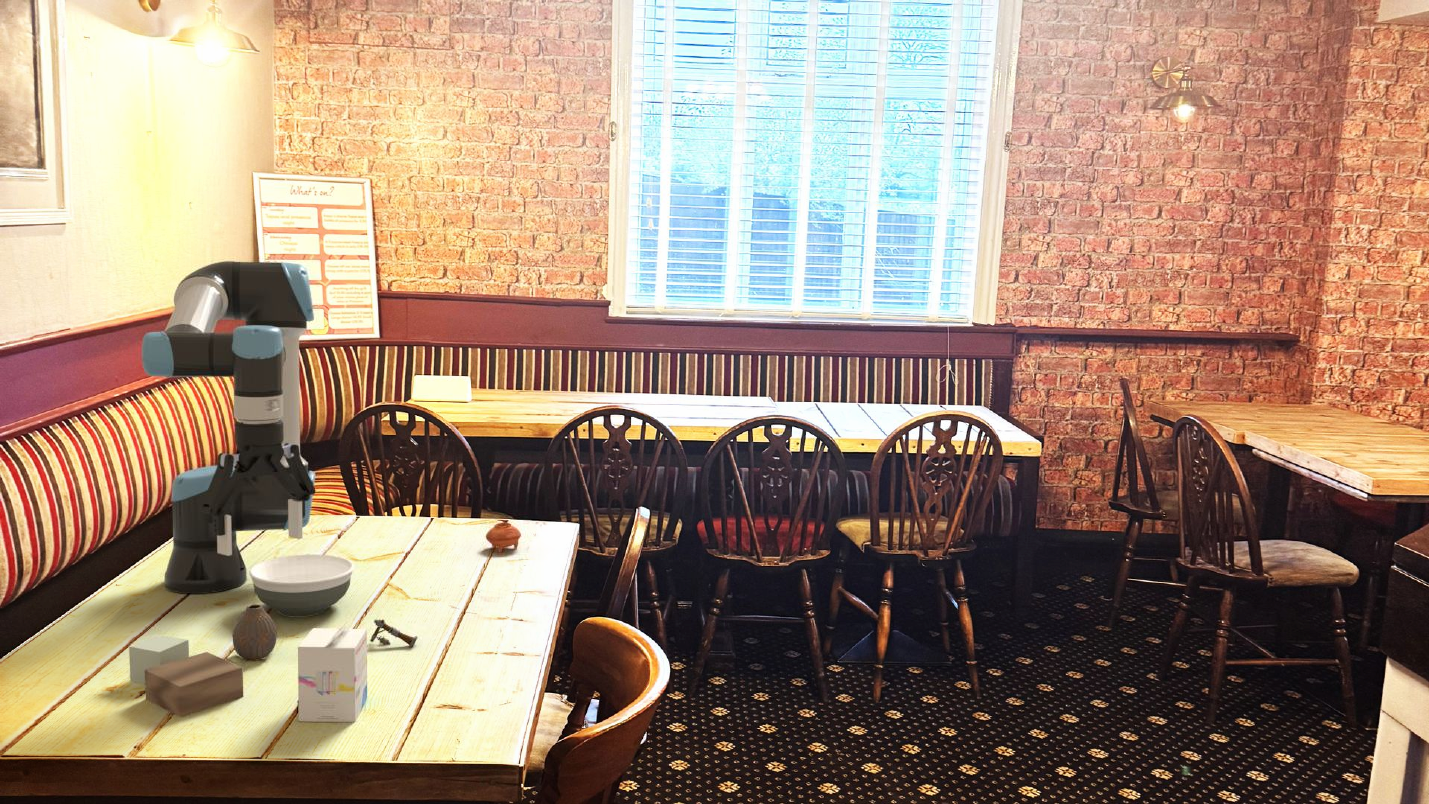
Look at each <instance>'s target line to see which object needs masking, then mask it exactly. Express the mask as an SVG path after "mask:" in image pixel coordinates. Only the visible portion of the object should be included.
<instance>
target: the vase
mask: <svg viewBox="0 0 1429 804" xmlns="http://www.w3.org/2000/svg"><path fill="white" fill-rule="evenodd" d="M277 635H278V633H277V627H276V624H275V622H274V620H273V618H272V617H271V615H269V614H268V613H267V612H266V611H265V609H264V607H263V606H262V605H261V604H255V603H254V604H250V605H247V606H246V608H245V610H244V611H243V614H241V616H240V617H239V618H238V620H237V621H236V622H235V625H234V628H233V630H232V645H233V647H234V650H235V653H236V654H237V655H238V656H239V658H241V659H243V660H244V661H260V660H263V659H265V658H267V657H269V655H270V654H272V652H273V651H274V649H275V646H276V644H277V638H278V636H277Z"/></svg>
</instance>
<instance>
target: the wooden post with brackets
mask: <svg viewBox="0 0 1429 804" xmlns="http://www.w3.org/2000/svg"><path fill="white" fill-rule="evenodd" d="M373 623H374V624H375V626H376V628H375V630H374V632H373V634H372V635H371V638H370V639H369V642H371V643H373V642H375V639H377V641H379V644H383V645H384V646H390V645H391V641H390V639H389V638H385V636H383V637H381V636H378V635H379V634H380V633H383V632H387V633H388V634H390V635H391V636H393V637H395V638H398V639H400V640H402V642H404V643H406V644H407V645H408V648H410V649H411V648H412V647H413V645H415V644H416V641H417V640H418V637H419V636H418V635H415V636H411V635H408V634H405V633H403V632H401V631H400V630H398V629H397V628H396V627H394V626H390V625H388V624H386V621H385V619H383V618H382V619H380V618H379V619H374V620H373ZM381 629H382V630H381ZM412 644H413V645H412Z"/></svg>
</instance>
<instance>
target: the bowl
mask: <svg viewBox="0 0 1429 804" xmlns="http://www.w3.org/2000/svg"><path fill="white" fill-rule="evenodd" d="M354 570H355V565H354V562H352V561H351V560H349V559H347V558H344V557H341V556H335V555H327V554H294V555H286V556H281V557H280V556H279V557H276V558H271V559H267V560H264V561H261V562H259V563H257V564H254V566H252V568H251V569H250V570H249V576H250V578H251V580H252V583H253V589H254V593H255V595H256V596H257V598H258V599H259V601H260V602H261V603H263V605H265V606H267V608H270V609H271V610H274V611H276V612H277V613H279V614H280V615H283V616H285V617H289V618H290V617H293V618H305V617H311V616H316V615H319V614H322V613H324V612H325V611H327V610H328V609H329V608H330V607H332V606H334V605H335V604H337V603H338V602H339V601H340V600H341V599H342V598H344V596H346V594H347V591H348V590H349V588H350V585H351V579H352V574H353V572H354Z"/></svg>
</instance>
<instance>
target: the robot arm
mask: <svg viewBox="0 0 1429 804" xmlns="http://www.w3.org/2000/svg"><path fill="white" fill-rule="evenodd" d="M310 286H311V285H310V280H309V275H308V270H307V268H306V267H305V266H303V265H302V264H299V263H290V262H283V261H281V262H276V261H275V262H271V261H267V262H263V261H262V262H261V261H233V260H232V261H231V260H228V261H227V260H225V261H219V262H215V263H211V264H208V265H204V266H203V267H200V268H198V269H197V270H195V271H193V272H191V273H189V274H188V275H187V276H185V277H184V278H183V279H182V280H181V281H180V282H179V284H178V286H177V287H176V289H175V292H174V295H173V305H174V308H173V311H172V313H171V316H170V318H169V321H168V323H167V325H166V327H165V330H163V331H162V330H159V331H152V332H151V331H150V332H147V333H146V334H144V335H143V337H142V338H143V339H142V342H141V343H142V345H141V360H142V367H143V370H144V373H145V374H146V375H147V376H149V377H158V378H159V377H161V378H162V377H163V378H167V379H169V378H205V377H206V378H214V377H215V378H217V377H218V378H233V418H234V419H235V420H237V421H235V423H234V426H233V428H234V444H235V445H236V450H235V453H231V454H230V453H225V452H220V453H218V456H217V464H216V465H209V466H202V467H199V468H194V469H189V470H186V471H183V472H181V473H180V474H178V475H176V476H175V477H174V478H173V480H172V484H171V486H172V487H171V497H170V501H171V506H172V507H171V509H172V511H171V512H172V514H171V515H172V540H173V541H172V543H173V544H172V546H173V547H172V550H171V554H170V557H169V560H168V563H167V568H166V570H165V572H164V587H165V589H167V590H169V591H171V592H175V593H182V594H208V593H217V592H221V591H222V592H223V591H226V590H231V589H234V588H237V587H239V586H241V585H243V584H245V583H246V581H247V579H248V578H247V577H248V576H247V575H248V574H247V566H246V564H245V562H244V560H243V556H242V553H241V551H240V548H239V546H238V543H237V539H238V538H237V532H248V531H249V532H250V531H273V530H274V531H276V530H279V531H280V530H282V531H287V530H288V537H289V538H293V539H297V540H301V539H303V528H305V527H306V526H308V524H309V522H310V517H311V511H312V504H313V496H314V495H315V494H316V491H317V490H316V488H315V481H316V473H315V472H314V471H313V470H309V462H308V461H306V459H305V458H303V457H302V455H301V431H300V429H301V425H300V423H301V422H300V420H301V417H300V413H301V411H300V409H301V408H300V407H301V406H300V338H301V336H302V335H303V334H304V333H305V332H306V331H307V330H308V323H307V322H309V323H310V322H313V321H314V320H315V315H314V314H315V313H314V306H313V299H312V293H311V292H312V291H311V287H310ZM219 320H235V321H236V320H237V321H239V320H240V321H245V325H239V326H236V327H235V328H234V329H233V332H214V331H215V329H216V325H217V322H218V321H219ZM235 467H236V468H235Z"/></svg>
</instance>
